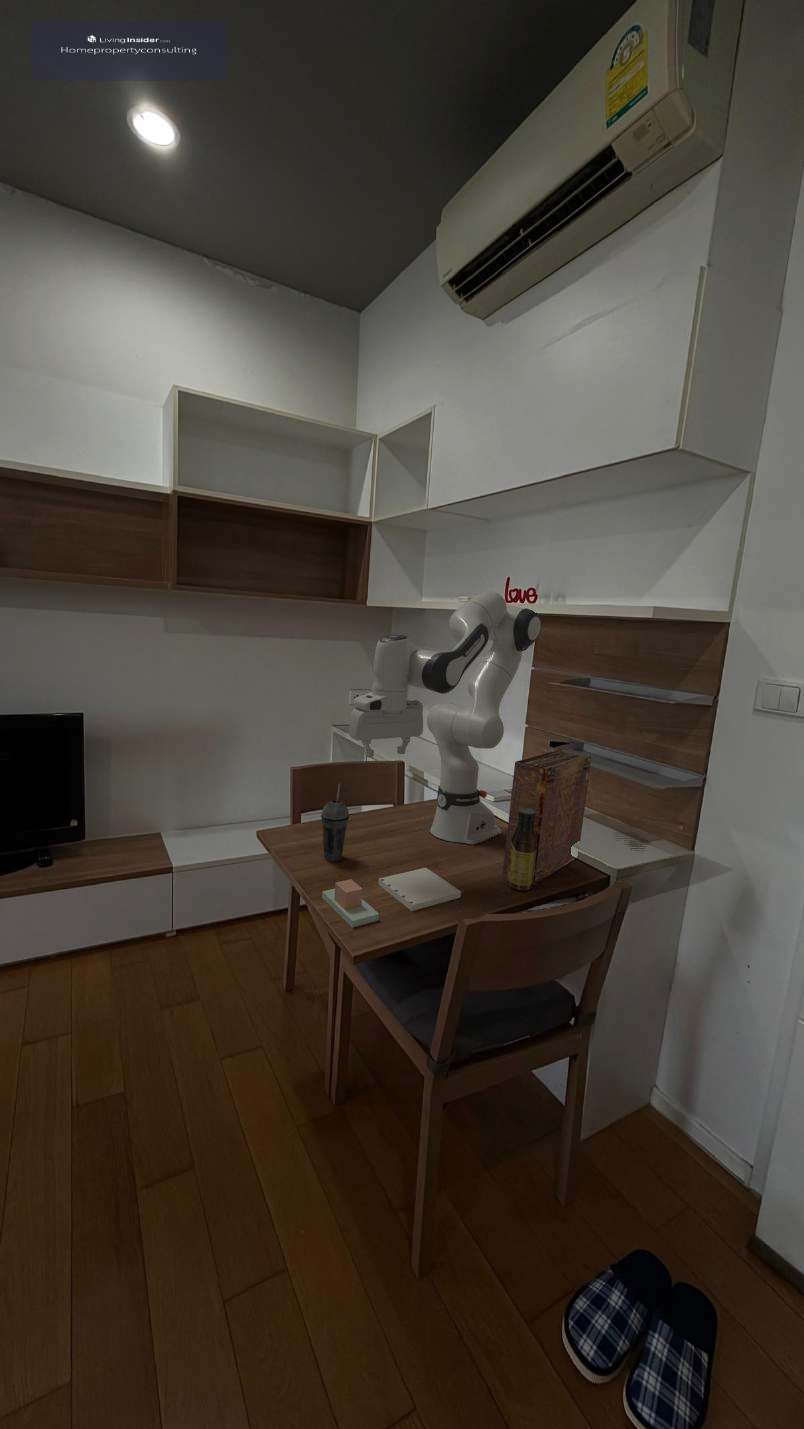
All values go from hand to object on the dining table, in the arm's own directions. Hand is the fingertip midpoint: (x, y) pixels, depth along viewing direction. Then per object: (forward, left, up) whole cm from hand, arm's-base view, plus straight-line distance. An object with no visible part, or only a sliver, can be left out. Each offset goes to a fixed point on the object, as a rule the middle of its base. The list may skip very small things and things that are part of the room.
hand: (385, 755), depth 144 cm
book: (-40, +20, -29) cm, 54 cm away
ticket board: (-1, +17, -29) cm, 34 cm away
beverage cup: (+9, -8, -29) cm, 32 cm away
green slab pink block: (+18, +17, -29) cm, 38 cm away
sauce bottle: (-25, +26, -29) cm, 47 cm away
